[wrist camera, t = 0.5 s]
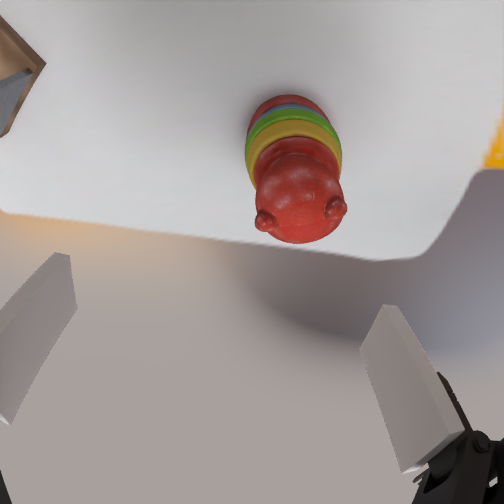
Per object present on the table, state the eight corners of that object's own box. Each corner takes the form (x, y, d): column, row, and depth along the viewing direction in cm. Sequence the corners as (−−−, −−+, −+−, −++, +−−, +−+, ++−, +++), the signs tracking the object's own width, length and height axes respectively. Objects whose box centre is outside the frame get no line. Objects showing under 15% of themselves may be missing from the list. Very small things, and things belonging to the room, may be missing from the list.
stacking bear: (252, 175, 37) (241, 284, 24) (235, 100, 31) (206, 175, 18) (337, 165, 36) (374, 271, 23) (331, 88, 29) (385, 155, 16)
